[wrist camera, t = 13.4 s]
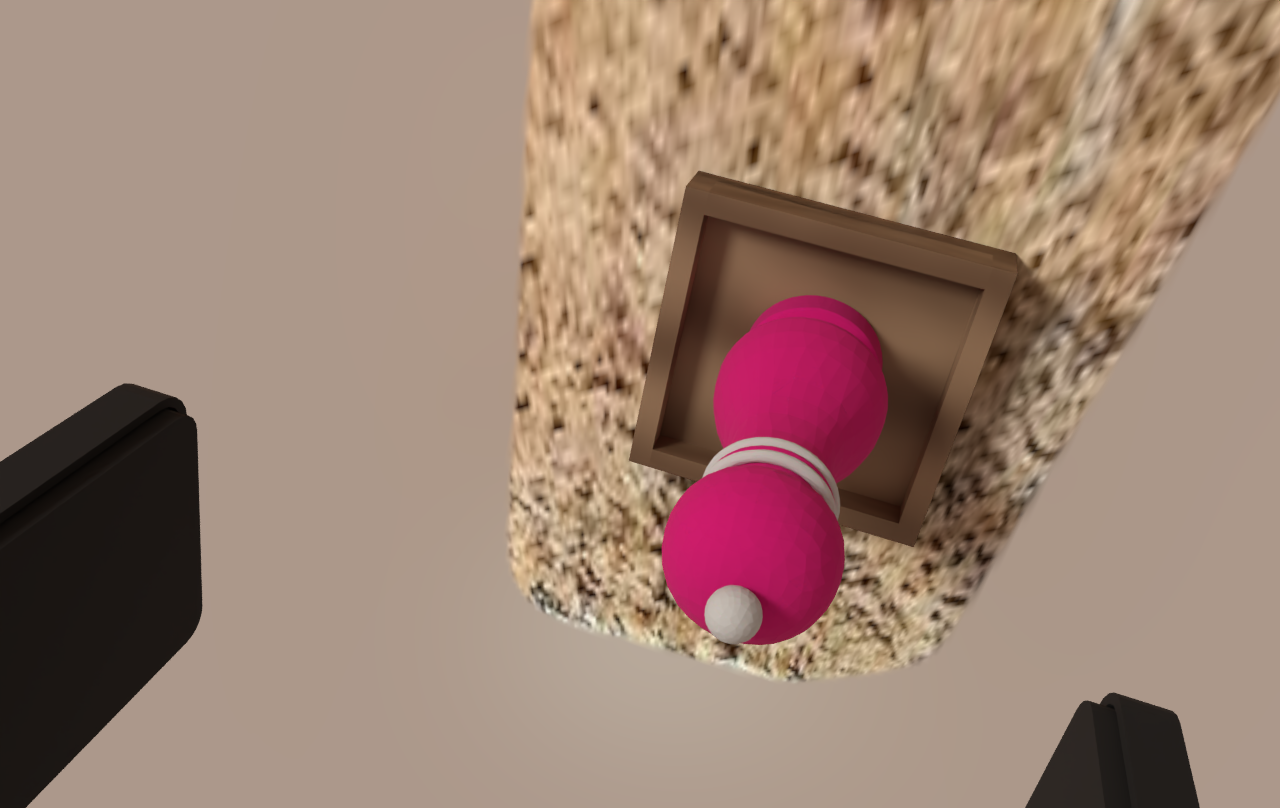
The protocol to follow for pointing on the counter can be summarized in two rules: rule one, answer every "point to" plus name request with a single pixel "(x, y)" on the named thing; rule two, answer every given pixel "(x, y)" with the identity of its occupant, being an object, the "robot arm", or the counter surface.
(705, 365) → the tray
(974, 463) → the counter surface
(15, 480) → the robot arm
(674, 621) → the counter surface
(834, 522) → the pepper mill
